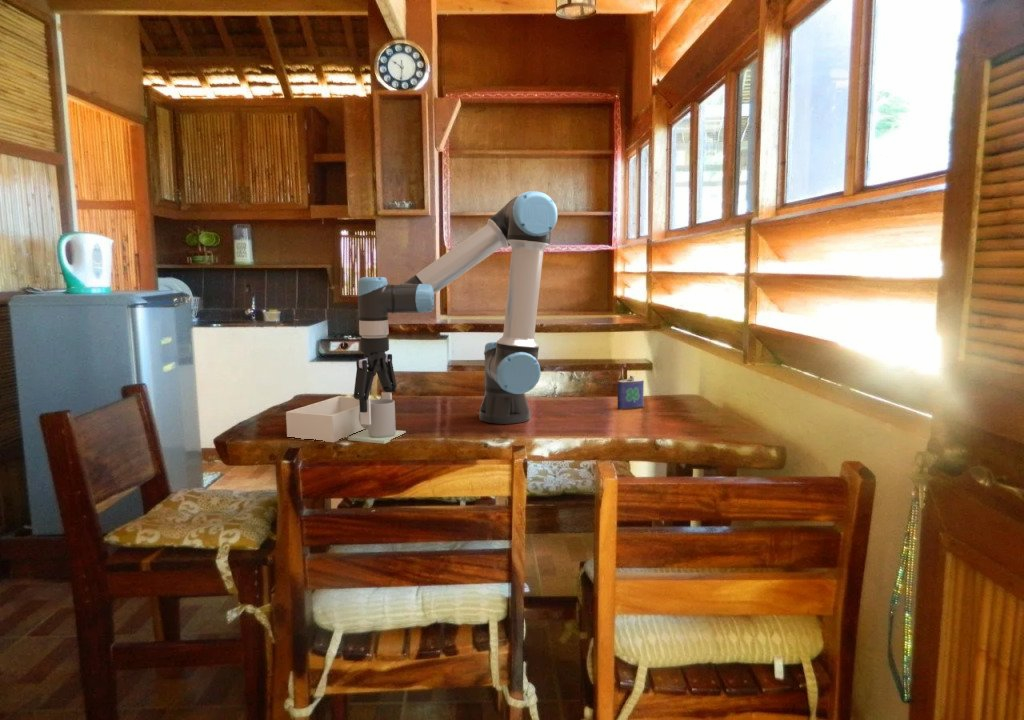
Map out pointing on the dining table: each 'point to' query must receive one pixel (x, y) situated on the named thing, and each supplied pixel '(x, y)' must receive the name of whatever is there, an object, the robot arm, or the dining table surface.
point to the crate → (325, 419)
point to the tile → (365, 437)
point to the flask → (630, 393)
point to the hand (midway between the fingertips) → (376, 419)
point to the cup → (381, 418)
